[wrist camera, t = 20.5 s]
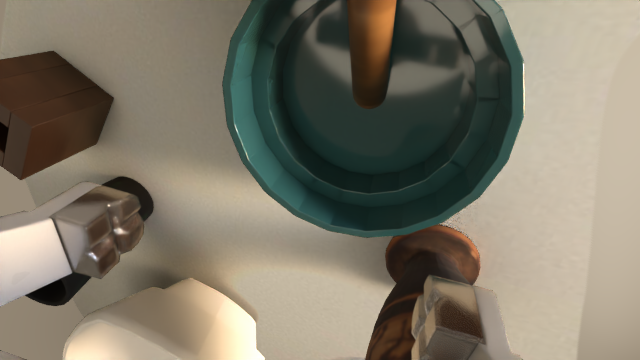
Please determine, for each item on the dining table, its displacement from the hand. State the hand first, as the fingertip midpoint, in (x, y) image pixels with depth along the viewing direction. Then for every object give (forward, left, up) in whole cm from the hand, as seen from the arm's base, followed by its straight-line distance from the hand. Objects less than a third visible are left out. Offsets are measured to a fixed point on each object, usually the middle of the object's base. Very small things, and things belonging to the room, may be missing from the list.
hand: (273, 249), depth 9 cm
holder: (-20, -20, -19) cm, 34 cm away
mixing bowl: (+1, 0, -19) cm, 19 cm away
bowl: (+5, -36, -20) cm, 41 cm away
